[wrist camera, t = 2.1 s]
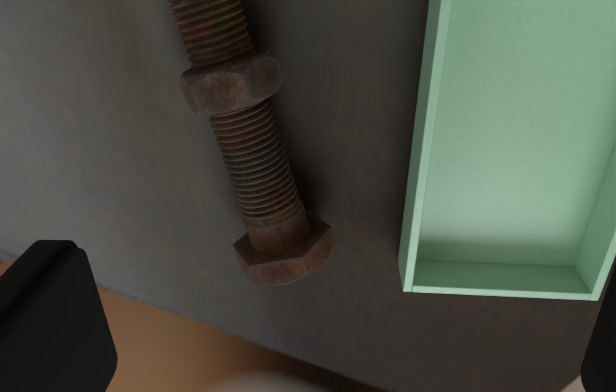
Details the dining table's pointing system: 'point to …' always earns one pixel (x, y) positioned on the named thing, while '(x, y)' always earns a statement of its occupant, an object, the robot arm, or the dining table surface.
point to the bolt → (250, 141)
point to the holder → (513, 151)
